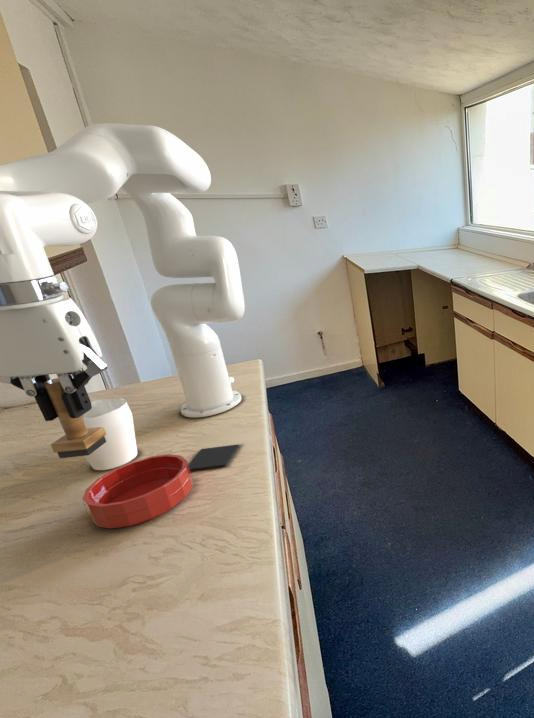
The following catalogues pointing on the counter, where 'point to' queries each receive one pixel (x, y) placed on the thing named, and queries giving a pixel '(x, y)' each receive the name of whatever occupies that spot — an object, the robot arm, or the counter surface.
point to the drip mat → (213, 457)
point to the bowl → (138, 491)
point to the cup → (112, 433)
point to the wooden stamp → (72, 427)
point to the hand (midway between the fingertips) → (69, 413)
